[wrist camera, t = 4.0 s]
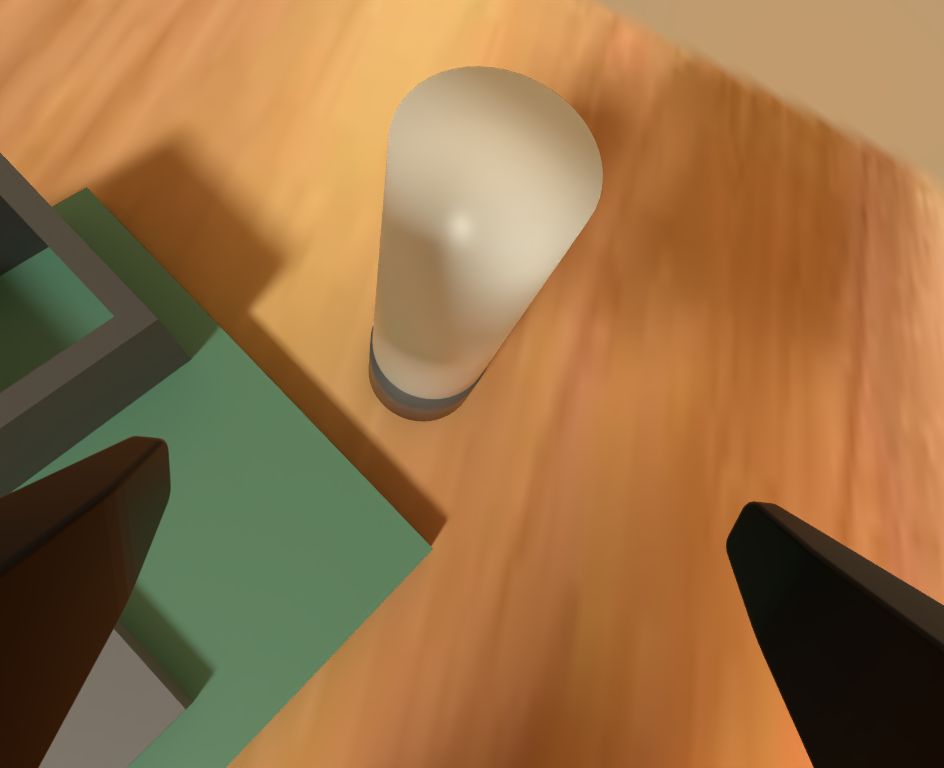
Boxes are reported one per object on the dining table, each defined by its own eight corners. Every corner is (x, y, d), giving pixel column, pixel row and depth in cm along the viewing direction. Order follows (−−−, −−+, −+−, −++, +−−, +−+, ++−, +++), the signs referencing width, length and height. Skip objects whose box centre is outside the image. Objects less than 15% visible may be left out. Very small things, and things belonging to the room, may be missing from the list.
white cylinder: (469, 427, 22) (605, 273, 10) (361, 414, 21) (371, 233, 9) (476, 329, 23) (605, 90, 11) (375, 314, 22) (399, 42, 10)
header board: (429, 549, 20) (449, 547, 16) (-8, 1009, 14) (-157, 1195, 10) (98, 203, 21) (34, 116, 17) (-420, 507, 16) (-702, 490, 12)
